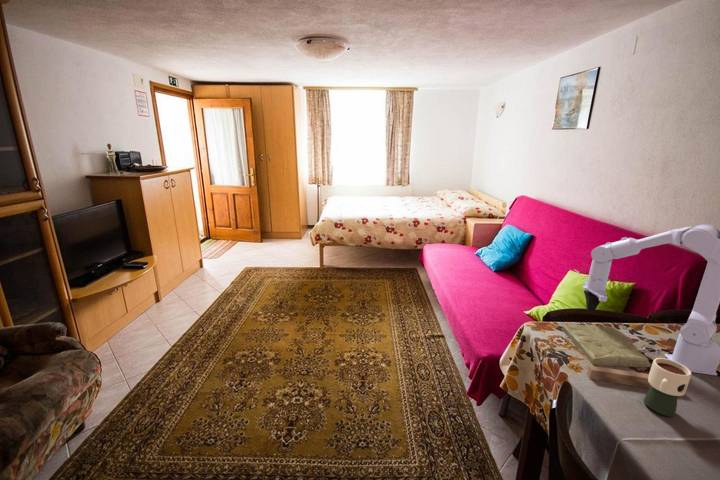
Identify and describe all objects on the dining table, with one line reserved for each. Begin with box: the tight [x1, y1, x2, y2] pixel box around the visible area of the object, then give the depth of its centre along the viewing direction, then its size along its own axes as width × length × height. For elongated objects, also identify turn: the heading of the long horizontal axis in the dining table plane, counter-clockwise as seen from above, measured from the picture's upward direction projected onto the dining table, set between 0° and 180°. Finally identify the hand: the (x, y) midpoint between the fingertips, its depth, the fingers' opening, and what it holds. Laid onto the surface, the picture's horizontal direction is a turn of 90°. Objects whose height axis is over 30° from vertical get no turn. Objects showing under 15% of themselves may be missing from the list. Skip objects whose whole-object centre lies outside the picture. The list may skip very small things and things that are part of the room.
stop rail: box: [586, 365, 651, 389], centre depth 94 cm, size 22×2×3 cm, turn 76°
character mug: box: [643, 357, 693, 417], centre depth 84 cm, size 11×7×13 cm, turn 127°
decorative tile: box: [561, 324, 651, 368], centre depth 111 cm, size 19×20×4 cm
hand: (590, 310), depth 123 cm, fingers closed
